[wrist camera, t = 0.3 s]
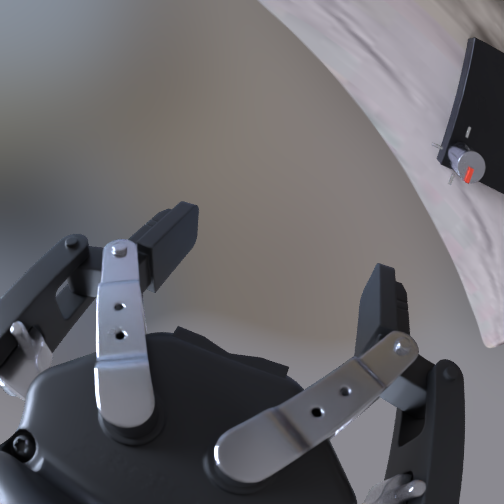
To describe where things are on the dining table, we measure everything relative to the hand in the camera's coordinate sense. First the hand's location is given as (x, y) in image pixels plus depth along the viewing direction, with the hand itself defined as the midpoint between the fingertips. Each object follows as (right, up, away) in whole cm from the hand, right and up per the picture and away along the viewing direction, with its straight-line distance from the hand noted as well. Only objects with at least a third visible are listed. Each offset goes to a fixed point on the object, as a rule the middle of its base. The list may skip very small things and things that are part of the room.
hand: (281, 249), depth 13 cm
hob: (+30, +15, +14) cm, 36 cm away
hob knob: (+23, +11, +16) cm, 30 cm away
